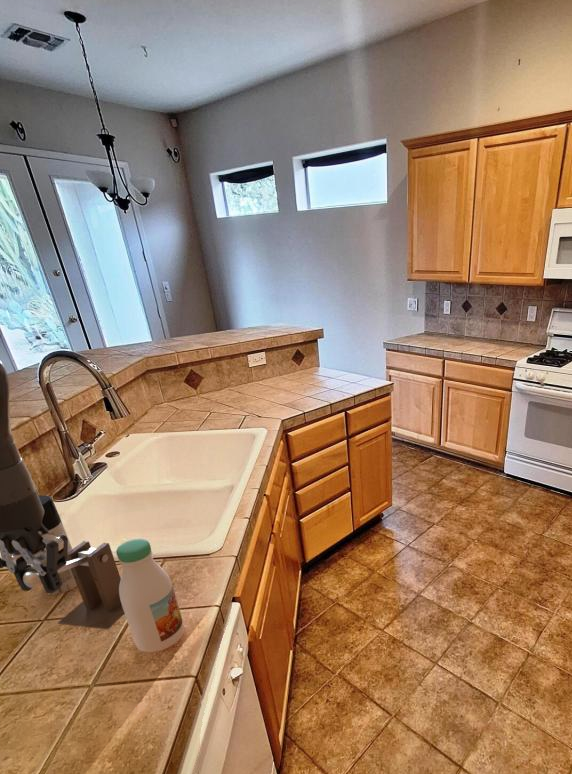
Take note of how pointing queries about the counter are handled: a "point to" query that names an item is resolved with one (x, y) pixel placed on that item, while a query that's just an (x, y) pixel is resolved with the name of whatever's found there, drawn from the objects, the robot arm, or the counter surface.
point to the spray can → (56, 529)
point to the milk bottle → (148, 598)
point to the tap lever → (33, 578)
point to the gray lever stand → (95, 588)
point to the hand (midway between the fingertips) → (42, 588)
